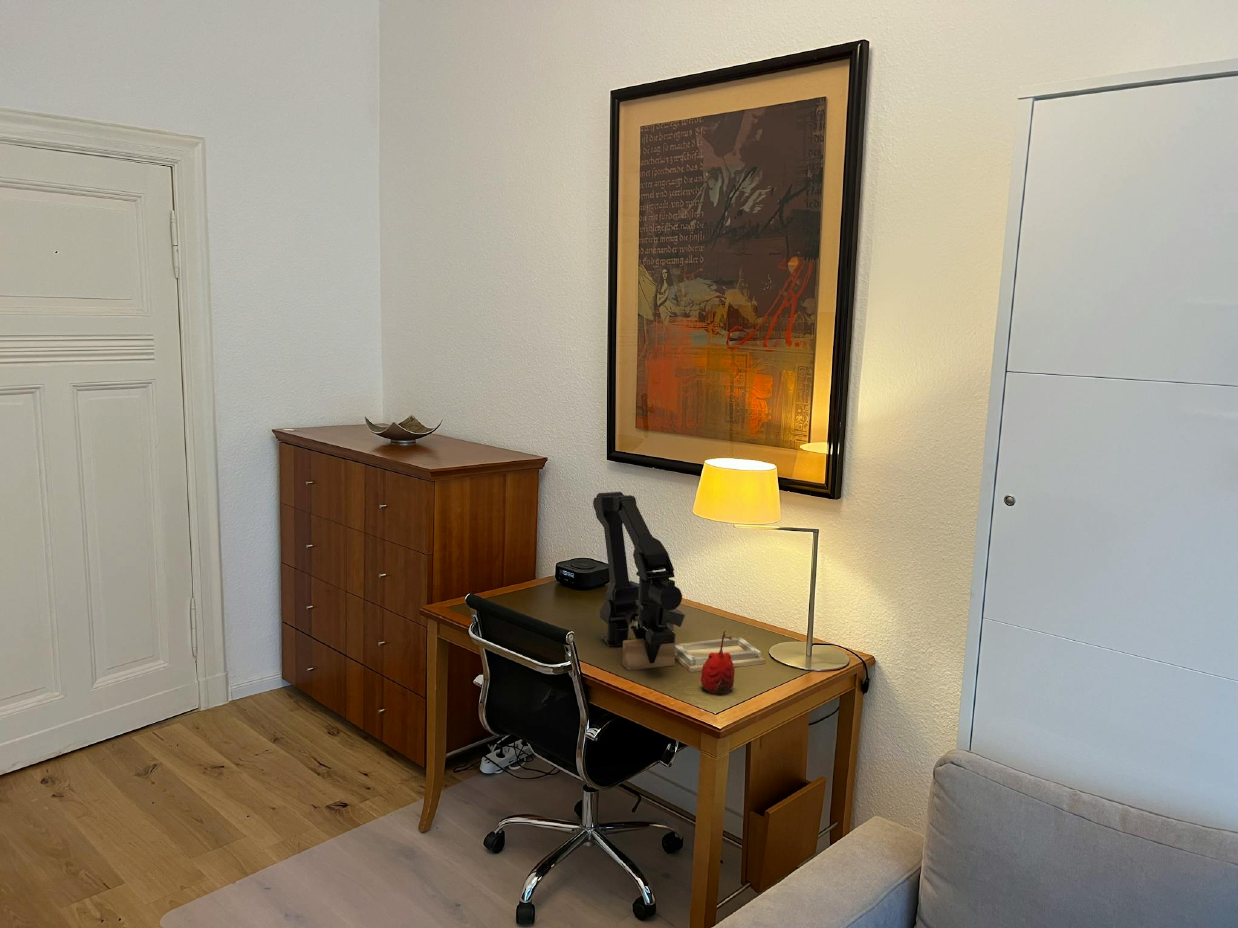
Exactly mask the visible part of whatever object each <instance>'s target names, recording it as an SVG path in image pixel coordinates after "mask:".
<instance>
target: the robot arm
mask: <svg viewBox="0 0 1238 928" xmlns="http://www.w3.org/2000/svg"><path fill="white" fill-rule="evenodd" d="M592 502H593V503H592V507H593V509H594V512H595V516H596V517H595V518H596V519H597V520H598V522H599V523H600V524H601V526H602V527H603V530H604V539H605V546H606V547H605V548H606V558H607V565H608V567H607V568H608V574H609V582H610V583H609V585H608V587H607V590H606V592H605V597H604V598H605V602H604V603H603V605H602V606H601V607H600V609H599V616H600V617H599V619H600V620H602V621H603V622H605V623H606V624H607V625H606V626H607V627H606V629H607V630H606V632H607V633H606V634H607V635H606V636H603V637H602V640H603V641H604V642H605V643H606V644H607V645H608V646H609V647H610V648H612V647H614V648H615V647H623V641H625V640H632V639H631V638H630V629H631V631H632V632H633V635H634V638H635V639H642V640H643V643H644V647H645V650H646V653H647V656H648V660H649V662H650V663H654V662H655V659H656V657H657V654H658V651H659V648H660V646H661V644H669V643H675V644H676V634H675V632H674V631H673V632H672V631H671V630H670V629H669V628H668V627H659V625H666V623H670V624H673V626H674V625H675V626H676V627H679V628H681V627H682V625H683V622H684V619H685V617H686V614H685V613H683V612H682V611H681V610H680V609H678V607H679V606H680V605H681V602H682V600H683V594H682V591H681V589H680V588H679V587H678V586H676V581H675V580H673V579H671V578H675V572H674V571H675V568H674V566H673V563H672V561H671V558H670V555H669V553H668V551H667V548H665V546H664V545H663V543H662V541H660V540H659V539H657V538H656V537H654V536H653V535H652V533H651V531H650V529H649V527H648V525H647V523H646V521H645V519H644V517H643V516H642V513H641V512H640V509H639V507H638V505H637V499H636V497H635V496H634V495H630V494H629V495H625V494H624V493H623V492H622V491H611V492H598V493H597V494H596V497H594V498H593V501H592ZM623 526H624V527H625V530H626V533H627V534H628V536H629V538H630V540H631V542H632V545H633V548H634V550H633V552H632V553H633V554H632V556H633V557H632V558H633V560H634V565H635V567H636V569H637V571H636V573H635V575H636V576H638V580H639V581H638V583H639V599H638V589H637V588H636V587H633V585H632V584H631V583H630V581H631V580H630V578H629V570H628V562H627V554H626V553H627V552H626V545H625V537H624V536H625V535H624V528H623ZM632 623H633V625H631V624H632ZM630 625H631V626H630Z"/></svg>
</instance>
